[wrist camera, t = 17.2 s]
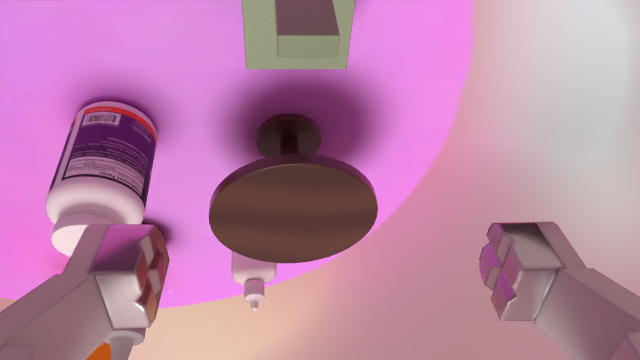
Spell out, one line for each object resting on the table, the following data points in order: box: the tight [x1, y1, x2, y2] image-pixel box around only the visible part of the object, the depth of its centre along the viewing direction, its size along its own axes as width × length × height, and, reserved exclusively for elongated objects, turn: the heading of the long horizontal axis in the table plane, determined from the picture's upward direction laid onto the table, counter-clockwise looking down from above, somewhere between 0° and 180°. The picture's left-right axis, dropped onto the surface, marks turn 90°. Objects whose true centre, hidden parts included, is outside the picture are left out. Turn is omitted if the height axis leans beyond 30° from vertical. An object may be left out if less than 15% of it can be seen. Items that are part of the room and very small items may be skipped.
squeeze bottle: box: [104, 223, 169, 360], centre depth 59 cm, size 8×8×18 cm
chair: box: [242, 0, 355, 69], centre depth 35 cm, size 8×8×14 cm
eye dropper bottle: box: [231, 251, 277, 310], centre depth 62 cm, size 4×6×12 cm
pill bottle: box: [46, 101, 157, 257], centre depth 45 cm, size 8×8×14 cm
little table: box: [209, 114, 378, 263], centre depth 50 cm, size 16×16×11 cm
